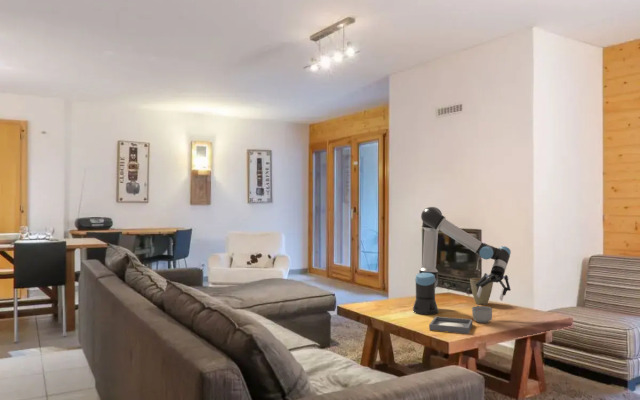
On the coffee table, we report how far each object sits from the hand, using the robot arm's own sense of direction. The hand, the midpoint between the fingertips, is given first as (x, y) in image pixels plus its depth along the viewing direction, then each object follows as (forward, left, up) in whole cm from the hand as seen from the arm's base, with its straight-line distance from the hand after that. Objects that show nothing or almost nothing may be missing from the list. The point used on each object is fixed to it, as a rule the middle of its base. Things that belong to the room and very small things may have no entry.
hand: (489, 297), depth 287 cm
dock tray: (-18, -29, -12) cm, 36 cm away
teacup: (-4, -8, -12) cm, 15 cm away
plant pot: (-8, +44, -12) cm, 47 cm away
